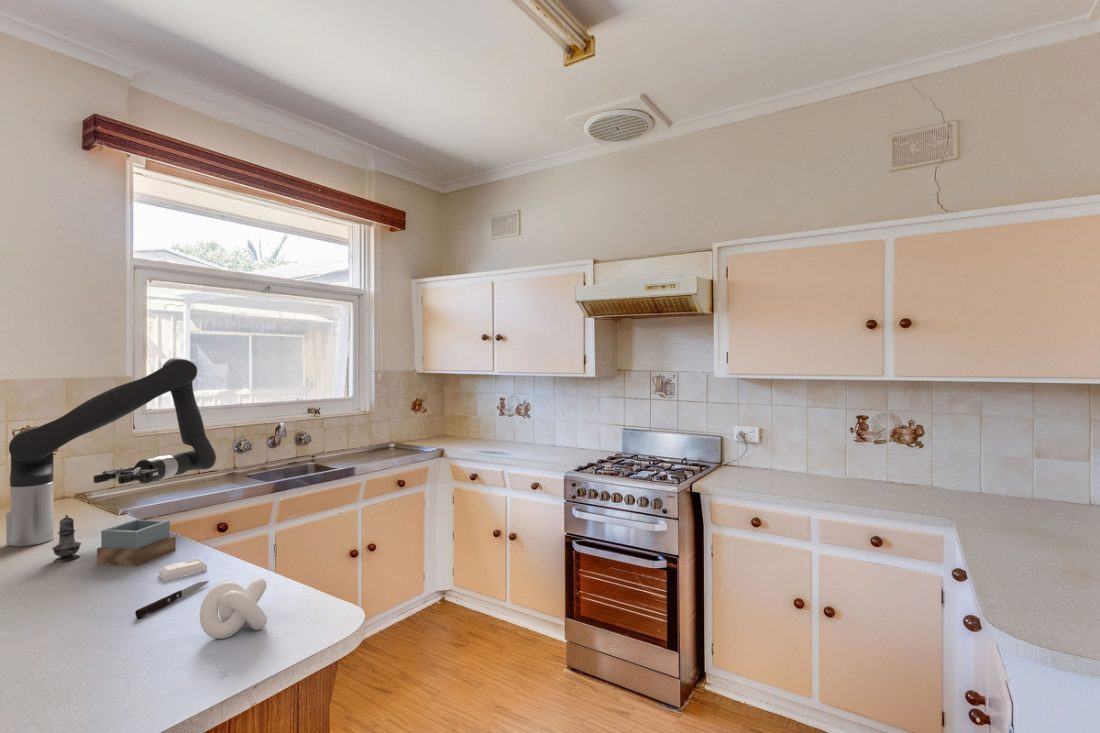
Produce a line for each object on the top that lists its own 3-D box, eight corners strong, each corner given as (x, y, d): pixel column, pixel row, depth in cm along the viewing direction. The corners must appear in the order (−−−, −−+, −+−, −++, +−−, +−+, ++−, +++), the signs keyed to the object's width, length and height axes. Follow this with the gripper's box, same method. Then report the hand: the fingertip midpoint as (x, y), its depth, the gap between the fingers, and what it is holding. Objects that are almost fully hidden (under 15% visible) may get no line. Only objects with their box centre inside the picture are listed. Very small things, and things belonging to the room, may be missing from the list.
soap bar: (159, 577, 133) (159, 566, 133) (201, 567, 140) (201, 557, 140) (164, 583, 130) (164, 572, 130) (207, 572, 137) (207, 561, 137)
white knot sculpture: (229, 614, 113) (229, 571, 113) (285, 615, 112) (285, 571, 112) (191, 642, 101) (191, 594, 101) (254, 643, 101) (254, 595, 101)
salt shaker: (63, 563, 142) (63, 518, 142) (46, 562, 143) (45, 517, 143) (87, 555, 148) (86, 512, 148) (69, 554, 149) (69, 511, 149)
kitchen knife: (138, 620, 110) (138, 610, 110) (134, 620, 111) (134, 610, 111) (211, 584, 128) (210, 576, 128) (207, 584, 128) (207, 576, 128)
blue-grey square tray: (101, 547, 142) (101, 530, 142) (136, 535, 152) (136, 519, 152) (136, 549, 141) (136, 532, 141) (169, 536, 151) (169, 520, 151)
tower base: (97, 565, 142) (96, 548, 142) (139, 549, 154) (139, 534, 154) (136, 568, 140) (135, 550, 140) (175, 552, 152) (175, 536, 152)
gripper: (137, 456, 173) (86, 466, 157) (175, 457, 171) (127, 467, 155) (137, 480, 173) (86, 492, 158) (176, 481, 171) (128, 493, 155)
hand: (106, 480), depth 156 cm, fingers open, 8 cm apart
